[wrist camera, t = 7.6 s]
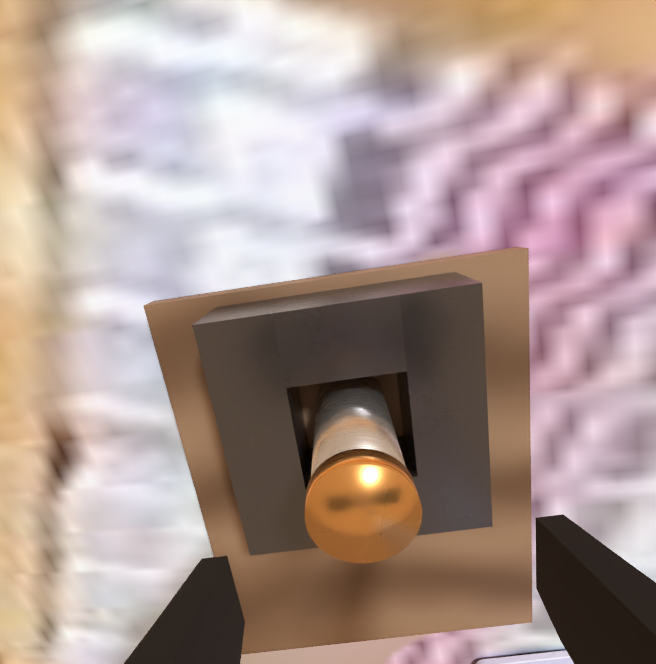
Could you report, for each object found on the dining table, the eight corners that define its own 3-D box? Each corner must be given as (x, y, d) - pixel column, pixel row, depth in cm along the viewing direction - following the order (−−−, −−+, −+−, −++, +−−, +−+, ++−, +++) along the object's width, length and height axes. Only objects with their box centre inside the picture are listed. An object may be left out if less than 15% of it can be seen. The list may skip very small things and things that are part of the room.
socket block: (467, 479, 19) (492, 526, 16) (261, 505, 19) (250, 555, 16) (454, 271, 16) (482, 282, 13) (216, 307, 16) (191, 325, 14)
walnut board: (523, 604, 22) (532, 622, 21) (245, 635, 23) (241, 654, 22) (516, 246, 17) (528, 248, 16) (153, 301, 17) (143, 305, 16)
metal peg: (389, 425, 18) (427, 556, 11) (320, 435, 18) (314, 569, 11) (381, 360, 17) (416, 458, 10) (309, 371, 17) (295, 474, 10)
